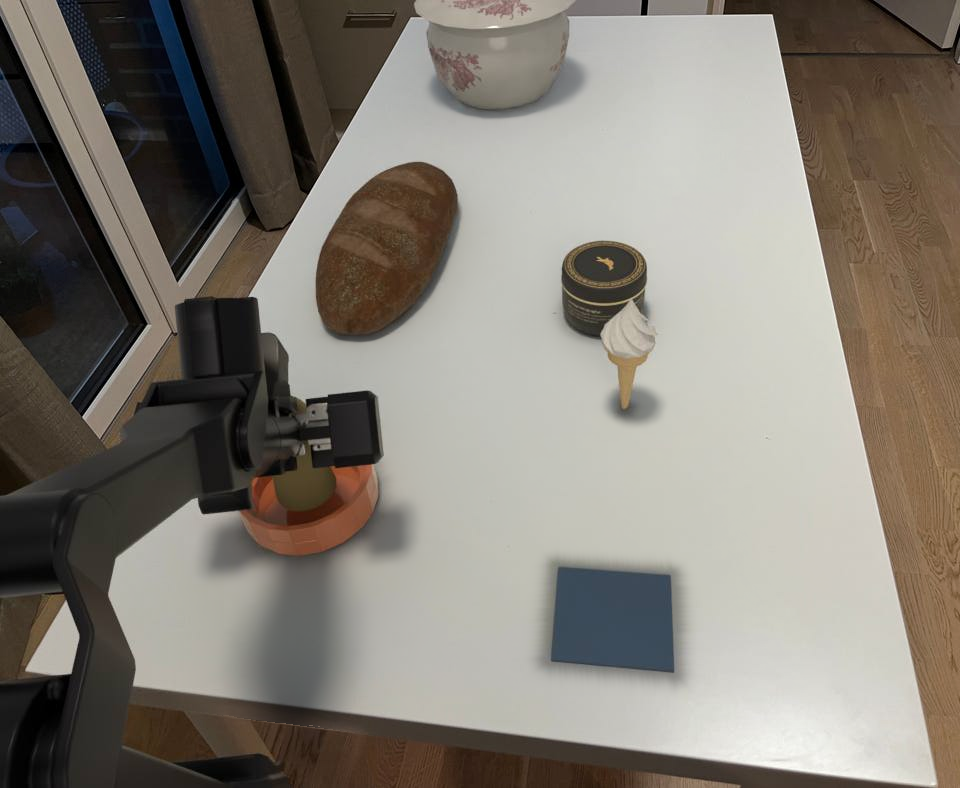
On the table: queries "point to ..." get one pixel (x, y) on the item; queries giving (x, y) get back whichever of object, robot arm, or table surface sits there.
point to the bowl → (312, 514)
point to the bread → (384, 247)
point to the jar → (601, 283)
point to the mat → (613, 619)
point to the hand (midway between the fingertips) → (293, 434)
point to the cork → (304, 480)
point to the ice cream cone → (628, 345)
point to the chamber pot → (496, 48)
